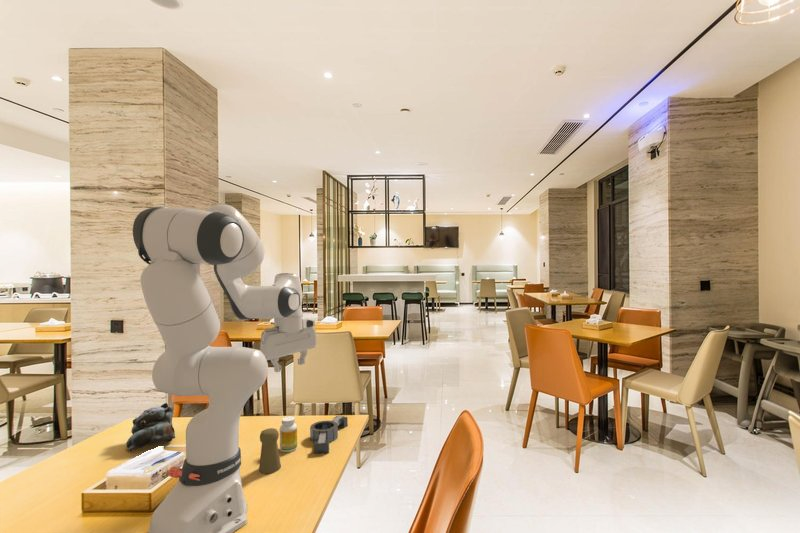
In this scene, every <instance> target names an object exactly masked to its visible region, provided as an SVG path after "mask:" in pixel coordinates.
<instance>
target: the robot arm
mask: <svg viewBox="0 0 800 533" xmlns="http://www.w3.org/2000/svg"><path fill="white" fill-rule="evenodd" d="M132 237H133V242H134V244H135V247H136V249H137V253H138V257H139V258H140V259H141V260H142V261H143V262H145V263H146V264H148V265H147V266H146V267H145V268H144V269H143V271H142V272H141V275H140V279H139V280H140V286H141V287H140V288H141V291H142V294H143V298H144V301H145V304H146V307H147V309H148V311H149V313H150V315H151V318H152V320H153V322H154V323H155V324H154V325H155V326H156V327H157V329H158V332H159V333H160V336H161V338H162V341H163V343H164V348H165V351H164V352H163V353H162V354H160V355H159V357H158V358H157V360H155V362H154V365H153V367H152V371H151V380H152V382H153V386H154V387H155V389H156V391H159V392H160V393H165V394H168V395H174V396H178V397H186V396H187V397H196V396H197V397H199V396H200V397H201V396H202V397H203V396H206V397H208V400H209V401H208V402H209V403H208V406H207V408H205V409H203V410H201V411H200V412H198V413H196V414H195V415H194V416H192V418H191V419H189V422H188V423H187V425H186V428H185V458H184V460H183V464H182V467H181V468H180V467H177V466H172V467H170V468H169V471H168V477H169V478H175V479H178V481H177V482H176V483H175V485H174V486H173V487H172V488H171V490H170V491H169V492H168V494H167V495H166V496H165V497H164V499H163V500H162V501H161V502H160V504H159V505H158V506H157V507H156V509H154V511H153V513H152V515H151V517H150V518H151V519H150V522H149V530H148V532H147V533H234V532H236V531H237V530H239V529H241V528H242V527H243V526H245V525H246V524H247V523H248V517H247V511H248V503H247V500H246V498H245V495H244V490H243V483H242V479H241V470H240V469H241V468H240V467H241V465H242V452H241V448H240V444H239V442H240V441H239V437H240V435H239V434H240V433H239V432H240V421H241V420H240V419H241V414H242V412H243V410H244V407H245V405H246V403H247V401H249V399H250V398H251V397H252V395H254V394H255V393H256V392H257V391H259V389H261V387H262V386H263V385H264V383H265V382H266V380H267V378H268V372H269V363H268V361H270V363H271V364H272V365H273V370H274V372H275V373H280V372H282V370H283V366H282V365H281V364H279V361H280V358H282V357H286V356H289V355H292V354H296V353H300V356H299V358H298V359H297V365H299V366H301V365H305V363H306V362H305V360H306V357H307V355H308V351H309V350H311V349H314V348H315V347H316V346H317V332H316V331H317V330H316V328H315V326H316V321H315V320H314V319H310V318H305V317H304V312H303V309H302V304H303V291H302V290H303V289H302V288H303V287H302V283H301V278H300V276H299V275H297V274H295V273H288V272H287V273H285V272H284V273H278V274H276V275H275V276H274V281H273V284H272V285H248V284H245V283H244V281H243V279H242V278H244V277H248V276H249V275H251V274H253V273H254V272H256V271H257V270H258V269H259V268H260V266H261V264H263V261H264V257H265V248H264V245H263V242H262V240H261V239H260V237H259V236H258V234H257V232H256V231H255V229H254V228H253V226H252V225H251V223H250V222H249V221H248V220H247V219H246V218H245V216H244V215H243V214H242V213H241V212H240V211H239V210H238V209H237V208H235V206H234V207H233V206H232V205H229V204H225V203H223V204H222V203H220V204H215V205H212V206H210V207H208V208H207V209H205V210H203V209H198V208H197V209H196V208H194V207H193V208H192V207H182V206H181V207H176V206H174V207H167V206H155V207H150V208H146V209H144V210H142V211H140V212H139V213H138V214H137V215H136V217H135V219H134V221H133V226H132ZM201 264H209V265H213V271H214V274H215V277H216V279H217V281H218V283H219V285H220V287H221V288H222V290H223V292H224V293H225V295H226V297H227V299H228V302H229V304H230V307H231V308H230V309H231V311H232V313H233V314H234V316H235V317H237V318H238V319H239V320H242V321H245V320H253V319H254V320H255V319H273V326H274V327H270V328H269V327H268V328H265V329H264V330H263V331H262V333H261V334H260V345H259V346H260V347H259V349H256V348H252V347H244V346H210V345H211V344H212V343H213V342H215V340H216V339H217V337H218V336H219V334H220V331H221V320H220V317H219V315H218V313H217V310H216V308H215V306H214V305H215V304H214V303H213V300H212V298H211V295H210V293H209V291H208V288H207V286H206V285H205V282H204V281H203V279H202V277H201V270H200V269H201Z"/></svg>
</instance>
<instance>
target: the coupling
mask: <svg viewBox="0 0 800 533" xmlns="http://www.w3.org/2000/svg"><path fill="white" fill-rule="evenodd" d="M348 423H349V422H348V417H347V416H345V415H343V414H342V415H341V414H338V415H336V416H335V417H333V418H332V419H331V420H320V421H317V422H314V423H312V424H310V426H309V427H310V428H309V434H310V435H309V436H310V441H311V442H312V443H313V444H314V445H313V447H314V448H313V449H314V451H313V452H314V454H313V455H319V454H330V453H329V452H330V443H332V442H334V441H336V440H338V436H339V435H338V434H339V429H338V428H342V429H345V428H346V427H347V426H348Z"/></svg>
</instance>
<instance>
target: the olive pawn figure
mask: <svg viewBox="0 0 800 533" xmlns="http://www.w3.org/2000/svg"><path fill="white" fill-rule="evenodd" d="M279 438H280V432H279V430H278V429H277V428H273V427H272V428H265V429H263V430H262V431H261V432H260V435H259V441H260V443H261V449H260V458H259V467H258V472H259V473H260V474H263V475H267V474H273V473H276V472H278V471H279V470H281V468H282V465H281V464H282V463H281V458H280V452H279V446H278V440H279Z"/></svg>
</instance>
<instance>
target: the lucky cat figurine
mask: <svg viewBox="0 0 800 533" xmlns="http://www.w3.org/2000/svg"><path fill="white" fill-rule="evenodd" d="M168 404H169V403H166V402H165V403H163V404H162V405H160V406H158V405H157V406H152V407H150V408H148V409H144V410H143V412H142V413H141V414H140V415H139V416H137V417H135V418H134V419H132V424H133V426H132V427H131V430H130V433H131V434H132V435H131V436H130V437H129V438H128V439H127V441H126V442H125V448H126V450H125V451H126V452H129V451H130V452H132V451H135V450H137V449H140V448H143V447H146V446H150V445H153V444H158V443H162V442H168V441H169V442H170V441H173V439H176V432H175V429H174V426H173V416H174V407H173V406H171V405H170V406H169V405H168Z"/></svg>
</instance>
